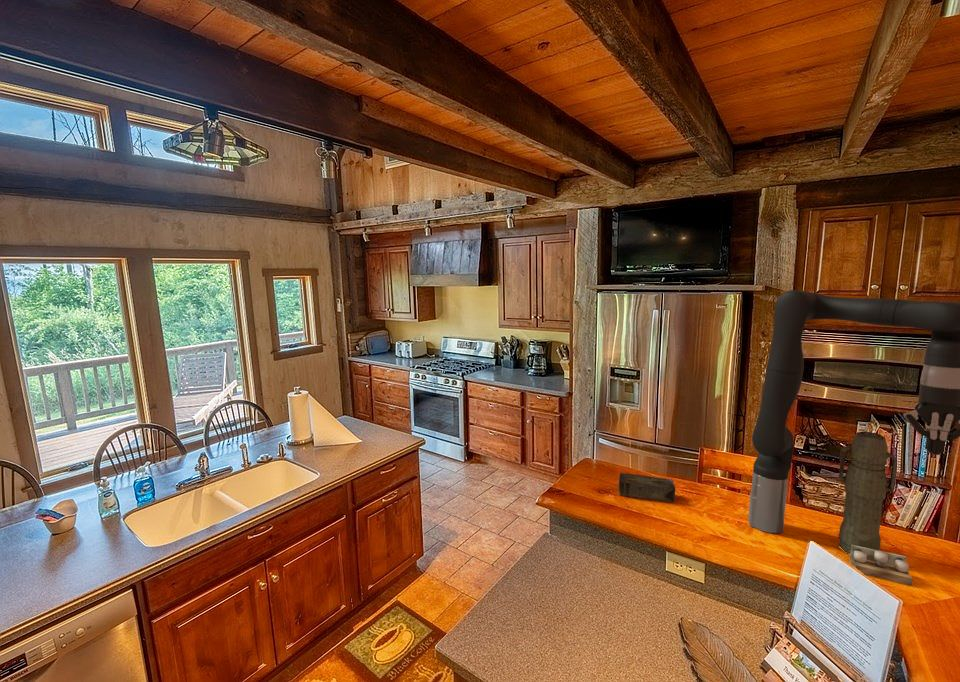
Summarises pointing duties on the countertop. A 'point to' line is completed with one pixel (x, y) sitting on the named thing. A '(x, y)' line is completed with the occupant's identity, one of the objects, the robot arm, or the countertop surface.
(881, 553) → the button middle
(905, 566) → the button right
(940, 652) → the countertop surface
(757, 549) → the countertop surface
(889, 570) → the button board
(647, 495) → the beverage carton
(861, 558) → the button left
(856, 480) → the thermos
